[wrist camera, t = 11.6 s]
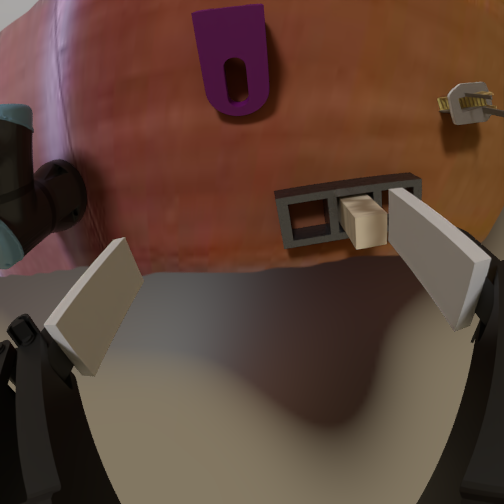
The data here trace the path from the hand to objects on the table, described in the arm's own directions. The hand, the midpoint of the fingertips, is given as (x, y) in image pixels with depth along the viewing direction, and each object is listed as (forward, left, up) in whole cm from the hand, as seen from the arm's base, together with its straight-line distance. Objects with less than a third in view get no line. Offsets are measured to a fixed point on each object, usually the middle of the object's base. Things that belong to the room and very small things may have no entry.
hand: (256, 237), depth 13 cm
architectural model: (+39, +5, -35) cm, 53 cm away
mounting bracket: (-1, +15, -35) cm, 38 cm away
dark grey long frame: (+14, -13, -35) cm, 39 cm away
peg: (+14, -13, -35) cm, 39 cm away
